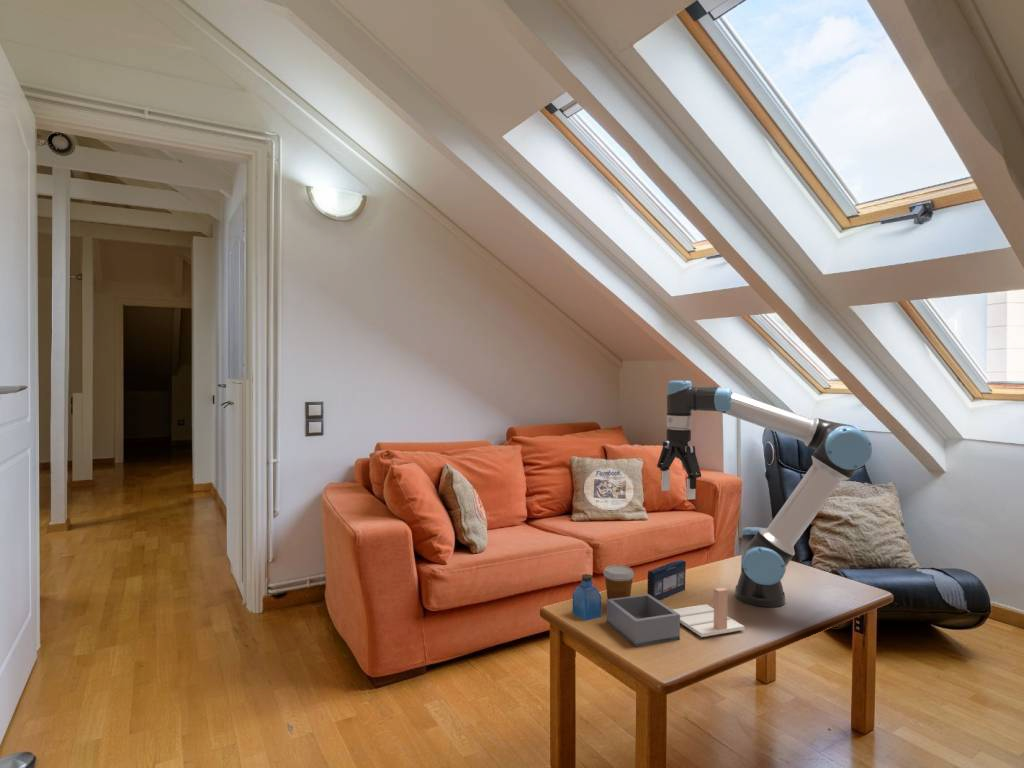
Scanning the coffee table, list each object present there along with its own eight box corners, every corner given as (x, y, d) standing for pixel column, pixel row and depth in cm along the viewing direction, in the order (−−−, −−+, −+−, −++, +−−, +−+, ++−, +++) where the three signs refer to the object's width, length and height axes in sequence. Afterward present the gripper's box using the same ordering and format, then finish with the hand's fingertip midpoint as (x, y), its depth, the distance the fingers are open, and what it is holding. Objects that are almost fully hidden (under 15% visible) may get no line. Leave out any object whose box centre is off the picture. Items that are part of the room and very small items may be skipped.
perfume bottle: (572, 613, 179) (572, 574, 178) (588, 609, 182) (588, 571, 182) (584, 621, 173) (585, 580, 173) (601, 616, 176) (601, 577, 176)
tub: (647, 616, 177) (648, 593, 176) (679, 639, 161) (679, 614, 161) (606, 622, 172) (606, 599, 172) (635, 647, 157) (635, 621, 157)
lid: (706, 610, 182) (706, 569, 182) (744, 633, 167) (744, 587, 166) (666, 616, 177) (667, 574, 177) (701, 640, 162) (702, 594, 161)
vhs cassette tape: (653, 603, 187) (653, 572, 187) (645, 600, 189) (646, 570, 189) (686, 590, 198) (687, 561, 198) (679, 588, 201) (679, 559, 201)
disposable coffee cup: (596, 607, 183) (597, 569, 183) (614, 599, 190) (615, 562, 190) (622, 616, 177) (622, 577, 176) (639, 607, 183) (640, 569, 183)
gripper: (647, 425, 197) (646, 487, 198) (693, 432, 174) (692, 503, 174) (666, 424, 200) (665, 486, 200) (714, 432, 176) (712, 502, 177)
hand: (677, 494), depth 187 cm, fingers open, 13 cm apart
